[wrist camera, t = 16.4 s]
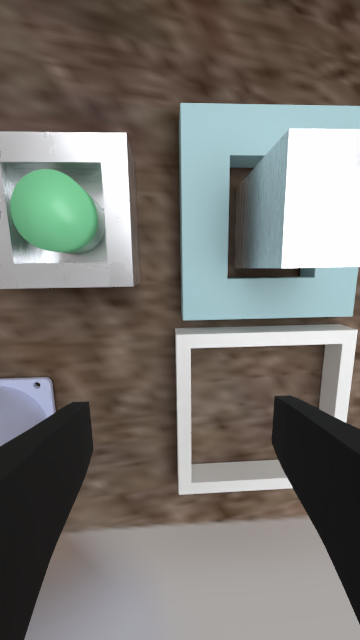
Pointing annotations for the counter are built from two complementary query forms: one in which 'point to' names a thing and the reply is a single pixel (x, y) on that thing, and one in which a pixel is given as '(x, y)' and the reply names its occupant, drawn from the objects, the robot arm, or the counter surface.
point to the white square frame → (332, 335)
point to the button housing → (99, 182)
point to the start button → (56, 213)
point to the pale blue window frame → (213, 214)
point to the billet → (302, 203)
